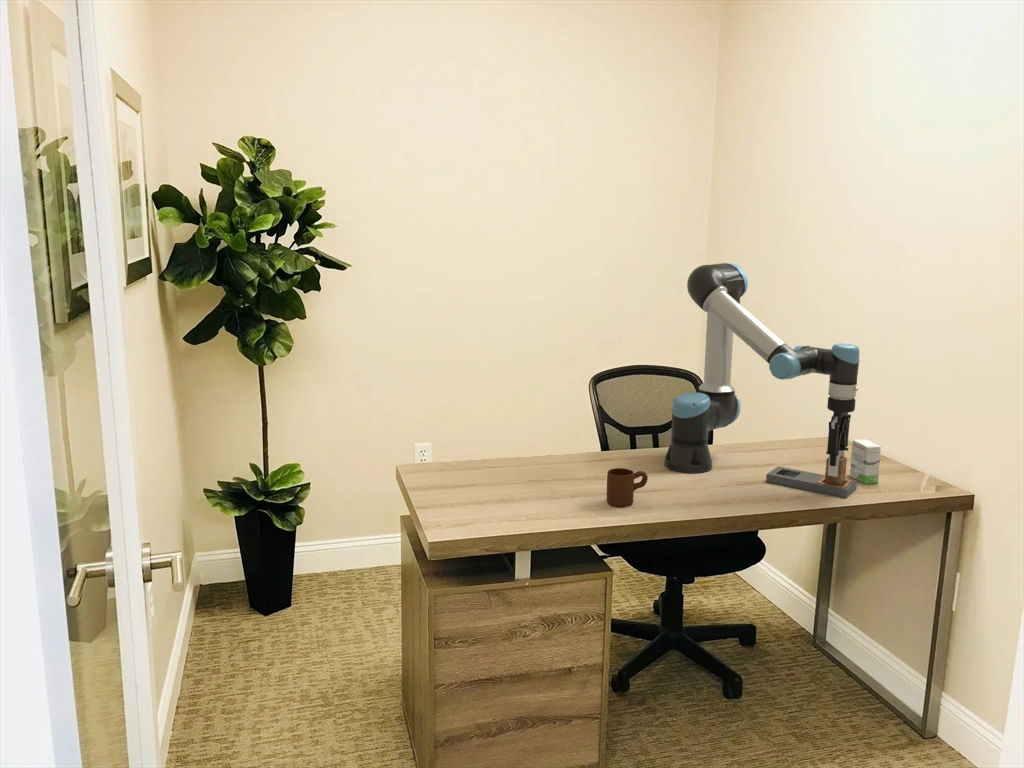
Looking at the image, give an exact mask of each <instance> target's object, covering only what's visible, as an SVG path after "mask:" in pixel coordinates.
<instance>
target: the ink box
mask: <svg viewBox="0 0 1024 768" xmlns="http://www.w3.org/2000/svg"><path fill="white" fill-rule="evenodd" d="M851 441H852V444H851V454H850V455H851V456H850V467H849V476H850V477H852V478H853V479H855V480H856V481H858V480H859V481H858V482H860V483H862V484H863V485H864V484H877V483H879V473H880V460H881V446H880V445H878V444H876V443H874V442H872V441H870V440H868V439H852V440H851Z"/></svg>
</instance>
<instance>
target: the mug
mask: <svg viewBox="0 0 1024 768" xmlns="http://www.w3.org/2000/svg"><path fill="white" fill-rule="evenodd" d="M640 477H642V478H641V480H640V481H639V482H635V480H636V479H638V478H640ZM648 479H649V477H648V475H647V472H645V471H643V470H638V471H636V472H634V471H633V470H631V469H629V468H623V467H615V468H611V469H609V470H607V475H606V503H607V504H608V505H609V506H611V507H614V506H616V507H615V508H628V507H630V505H631V506H632V505H633V504H634V493H635V492H636V490H638V489H641V488H643V487H645V486H646V485H647V482H648ZM627 506H628V507H627Z"/></svg>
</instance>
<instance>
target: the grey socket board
mask: <svg viewBox="0 0 1024 768" xmlns="http://www.w3.org/2000/svg"><path fill="white" fill-rule="evenodd" d="M765 482H766V483H770V484H775V485H779V486H784V487H789V488H794V489H799V490H804V491H810V492H814V493H820V494H822V495H829V496H834V497H839V498H845V499H847V498H848V497H850V496H851V495H852V494H853V493H854V492H855V491H856V490H857V486H858V485H857V484H858V480H853V479H849V478H845V484H844V485H843V486H839V485H834V484H829V483H825V474H821V473H814V472H810V471H806V470H800V469H794V468H789V467H784V466H776V467H774V469H772V470H770V471H769V472H767V473H766V476H765ZM852 492H853V493H852Z"/></svg>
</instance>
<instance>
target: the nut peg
mask: <svg viewBox="0 0 1024 768" xmlns="http://www.w3.org/2000/svg"><path fill="white" fill-rule="evenodd" d="M847 460H848V457H839V467H838V477H834V476H829V475H828V464H829V456H828V457H826V463H825V474H824V475H825V483H829V484H834V485H839V486H843V485H844V484H845V479H846V473H847V462H848V461H847Z"/></svg>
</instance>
